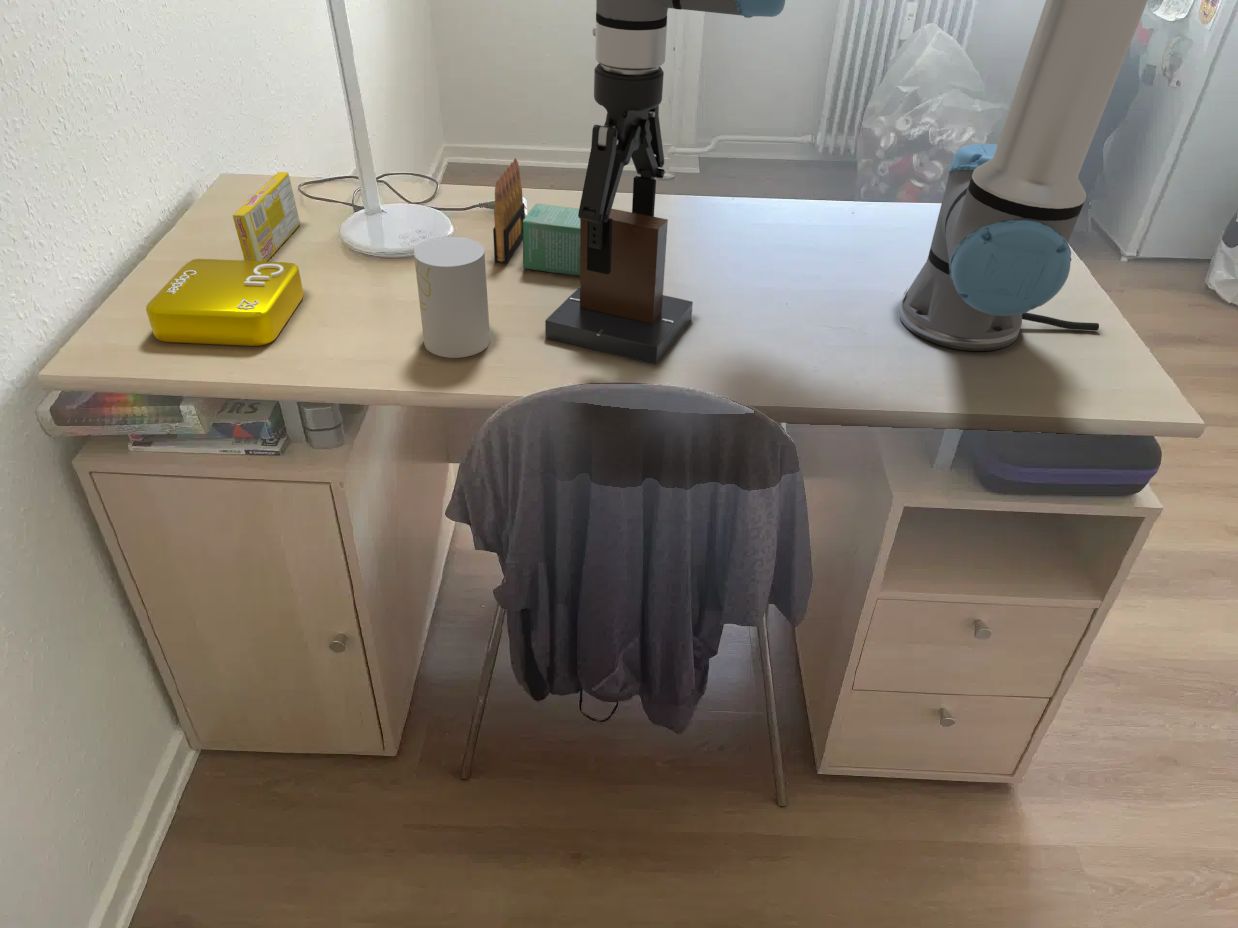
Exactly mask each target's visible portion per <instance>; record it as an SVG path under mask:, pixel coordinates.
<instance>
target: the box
mask: <svg viewBox="0 0 1238 928" xmlns="http://www.w3.org/2000/svg"><path fill="white" fill-rule="evenodd" d="M578 213H579V208H576V207H567V206H559V205H553V204H544V203H535V204H534V205H533V206H532V208H531V209H530V211H529V212H528V213H527V215H525V218H524V220H523V240H522V267H523V269H524V270H533V271H539V272H546V273H547V272H548V273H555V274H563V275H572V276H578V277H580V218H579V217H578Z"/></svg>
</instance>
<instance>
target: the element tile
mask: <svg viewBox="0 0 1238 928" xmlns="http://www.w3.org/2000/svg"><path fill="white" fill-rule="evenodd" d="M300 273H301V272H300V269H299V266H298V265H297V264H296V263H293V262H287V261H286V262H285V261H284V262H282V261H267V262H265V261H245V260H242V259H241V260H238V259H220V258H219V259H216V258H194V259H191V260H190V261H188V262H187V263H185V264H184V265H183V266H182V267H181V268H180V269H179V270H178V271H177V272H176V273H175V274H174V275H173V277H171V279H169V280H168V282H167V283H166V284H165V285H164V286H162V288H161V289H160V290H159V291H158V293H156V294H155V296H153V298H151V300H149V302H148V303H147V304H146V306H145V310H146V314H147V317H148V321H149V325H150V327H151V331H152V333H153V336H154V338H155V339H156V340H157V341H161V342H165V343H179V344H180V343H182V344H198V345H199V344H200V345H201V344H202V345H204V344H205V345H224V346H245V347H259V346H265V345H268V344H270V343H272V342H274V341H275V340H276V339H277V337H278V336H279V334H280V333H281V331H282V330H283V328H284V327H285V325H286V324H287V322H288V321H289V319H290V318H291V316H292V315H293V313H294V312H295V310H296V309H297V307H298V305H299V304H300V303H301V301H302V300H303V298H304V295H305V294H304V288H303V283H302V278H301V274H300Z"/></svg>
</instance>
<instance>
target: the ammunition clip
mask: <svg viewBox="0 0 1238 928" xmlns="http://www.w3.org/2000/svg"><path fill="white" fill-rule="evenodd" d="M520 169H521V168H520V165H519V161H518V159H517V158H516V157H514V159H513V161H511V162H510V165H509V166H507V168H506V170H504V171H503V174H501V175H500V176H499V179H497V180H496V182H495V186H494V207H493V218H494V220H493V221H494V227H493V228H492V234H493V254H494V255H493V256H494V263H495V264H496V263H497V264H508V263H509V262H510V260H511V259H512V257H513V256H514V254H515V252H516V251H517V249H518V248H519V247H520V245H521V243H523V220H524V218H525V217H526V209H525V203H524V202H523V201H524V200H523V186H522V180H521V179H522V178H521V171H520Z"/></svg>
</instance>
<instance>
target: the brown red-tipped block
mask: <svg viewBox="0 0 1238 928" xmlns="http://www.w3.org/2000/svg"><path fill="white" fill-rule="evenodd" d="M609 218H611V219H613V222H612V249H611V272H610V273H609V274H608V275H607V274H603V273H598V272H594V271H589V270H587V237H588V220H584V219H580V276H579V287H580V307H581V308H585V309H590V310H594V311H598V312H603V313H607V314H611V315H616V316H620V317H624V318H628V319H633V320H637V321H641V322H646V323H650V324H653V323H654V322H655V321H656V319H657V318H658V317H659V316H660V314H661V313H662V300H663V295H664V284H665V283H664V282H665V269H666V254H667V253H666V252H667V239H668V222H669V219H668V218H663V217H656V216H654V217H653V216H647V215H642V214H637V213H632V211H627V210H622V209H616V208H612V209H611V212H610V215H609Z"/></svg>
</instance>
